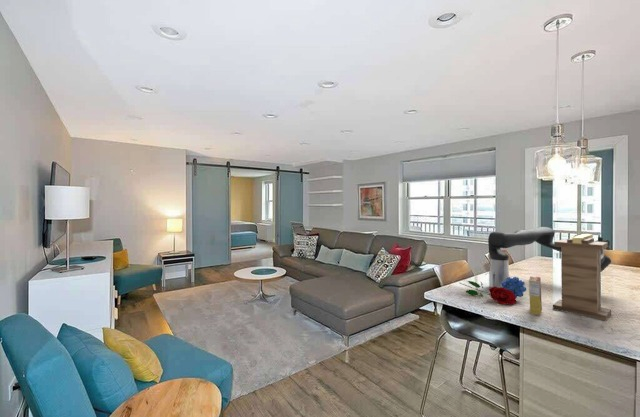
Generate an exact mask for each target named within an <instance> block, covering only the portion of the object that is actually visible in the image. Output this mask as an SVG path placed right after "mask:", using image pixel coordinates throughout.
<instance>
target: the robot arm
mask: <svg viewBox="0 0 640 417" xmlns="http://www.w3.org/2000/svg"><path fill="white" fill-rule="evenodd" d="M555 234H556V232H555V230H554V229H553V228H551V227H547V226H539V227H535V228H529V229H520V230H516V231H514V232H513V233H512V232H502V231H501V232H500V231H491V232H490V233H489V235H488V238H487V239H488V242H487V243H488V253H489V258H490V263H489V264H490V265H489V266H490V267H489V271H488V274H489V276H488V283H489V284H488V286H489V287H490V288H492V287H497V288H500V287H503V286H502V285H501V283H502V282H503V281H506V278H507V277H510V274H509V272H510V268H509V263H510V262H509V255H508V254H507V253H505V252H503V251H502V249H509V248H512V247H515V246H527V245H531V244H533V243H537V244H538V245H541V246H543V247H546V248H549V249H552V250H555V251H556V252H560V253H561V247H560V246H554V242H553V239H554V237H555ZM576 236H578V235H577V234H574V235H573V237H576ZM594 241H595V242H608V247H607V248H605V249H606V250H607V251H609V250H610V249H611V242H610V240H609V239H608V240H605V239H604V237H601V236H598V237H597V240H594ZM611 263H612V259H611V258H610V257H609V256H607V255H605V251H604V249H603V250H601V273H603V271H605V269H606V268H607V267H609V266H610V265H611Z"/></svg>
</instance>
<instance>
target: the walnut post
mask: <svg viewBox="0 0 640 417" xmlns="http://www.w3.org/2000/svg"><path fill="white" fill-rule="evenodd" d="M595 241H596V240H595V237H593V238H588V239H585V240H583V243H582V244H579V243H573V237H570V238H567V239H558V240H556V241H553V244H554V246H560V247H561V252H560V255H561V256H560V259H561V268H560V269H561V278H560V279H561V299H558V300H557V301H556V302H554V303H553V304H552V310H556V311H560V312H565V313H569V314H573V315H579V316H584V317H589V318H592V319H595V320H596V319H597V320H602V321H605V320H606V321H608V319H609V317H610V316H611V315H612V309H610V308H605V307H602V272H601V250H603V251H604V249H605V248H607V247H608V242H595Z"/></svg>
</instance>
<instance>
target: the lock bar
mask: <svg viewBox="0 0 640 417" xmlns="http://www.w3.org/2000/svg"><path fill="white" fill-rule="evenodd" d="M593 235H594V234H593V233H592V234H591V233H583V234H580V235H577V236H576V237H574V236H573V237H572V238H573V243H579V244H582V243H583V240H585V239H588V238H594V236H593Z"/></svg>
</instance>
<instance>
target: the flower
mask: <svg viewBox="0 0 640 417" xmlns="http://www.w3.org/2000/svg"><path fill="white" fill-rule="evenodd" d="M467 282H468V283H469V284H470V285H471V286H474V287H476V288H474V287H471V286H469V285H467V284H465V283H462V282H459V284H460V285H463V286H465V287H467V288H468V287H469V288H471V289H466V290H465V292H466V293H467V294H468V295H470V296H474V295H477V296H476V297H478V296H479V295H480V296H482V297H484V295H483V293H486V295H488V296H489V297H490V298H491V299H492V300H494V301H495V302H496V303H497V304H499V305H507V306H512V305H514V304H516V303H517V298H516V297H515V295H514V293H513V292H511V291H509V290H507V289H505V288H502V287H500V288H497V287H492V288H491V287H490V288H488V292H487V291H483V290H480V289H478V288H482V289H484V284H483V283H482V281H480V284H479V283H477V282H475V281H471V280H467ZM473 289H474V290H473Z"/></svg>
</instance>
